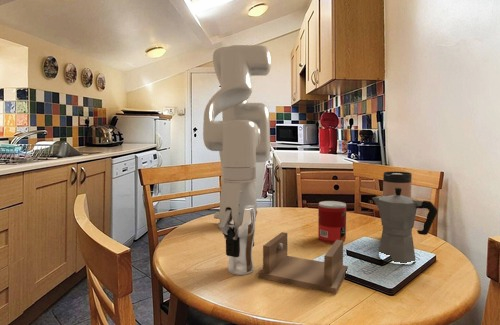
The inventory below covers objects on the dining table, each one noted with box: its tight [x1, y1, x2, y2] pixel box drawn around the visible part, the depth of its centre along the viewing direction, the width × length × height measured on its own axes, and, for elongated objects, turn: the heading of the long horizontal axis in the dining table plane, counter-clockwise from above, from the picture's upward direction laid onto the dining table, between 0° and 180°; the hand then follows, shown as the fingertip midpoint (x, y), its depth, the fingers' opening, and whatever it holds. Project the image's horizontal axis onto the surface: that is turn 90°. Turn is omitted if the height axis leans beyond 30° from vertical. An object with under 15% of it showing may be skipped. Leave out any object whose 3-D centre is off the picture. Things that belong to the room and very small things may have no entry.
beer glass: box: [227, 206, 256, 276], centre depth 74 cm, size 7×7×15 cm
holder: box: [257, 231, 349, 295], centre depth 71 cm, size 17×12×7 cm
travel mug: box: [382, 171, 413, 198], centre depth 94 cm, size 8×8×20 cm
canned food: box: [317, 200, 347, 244], centre depth 95 cm, size 8×8×11 cm
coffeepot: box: [371, 188, 438, 263], centre depth 79 cm, size 15×9×18 cm, turn 43°
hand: (240, 250), depth 74 cm, fingers closed on beer glass, 6 cm apart
